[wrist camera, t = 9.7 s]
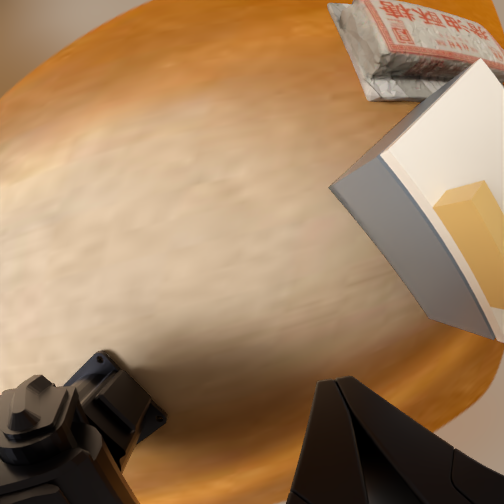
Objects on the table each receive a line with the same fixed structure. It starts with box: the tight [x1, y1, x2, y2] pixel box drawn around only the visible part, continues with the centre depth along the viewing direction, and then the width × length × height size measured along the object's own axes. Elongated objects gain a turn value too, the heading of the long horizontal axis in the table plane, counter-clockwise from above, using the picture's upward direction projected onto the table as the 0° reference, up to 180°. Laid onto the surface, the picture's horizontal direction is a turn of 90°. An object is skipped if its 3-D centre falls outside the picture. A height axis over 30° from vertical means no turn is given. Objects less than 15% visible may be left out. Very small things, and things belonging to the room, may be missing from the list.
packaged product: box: [327, 0, 504, 102], centre depth 18 cm, size 18×5×10 cm
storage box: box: [328, 66, 495, 340], centre depth 16 cm, size 11×12×7 cm
